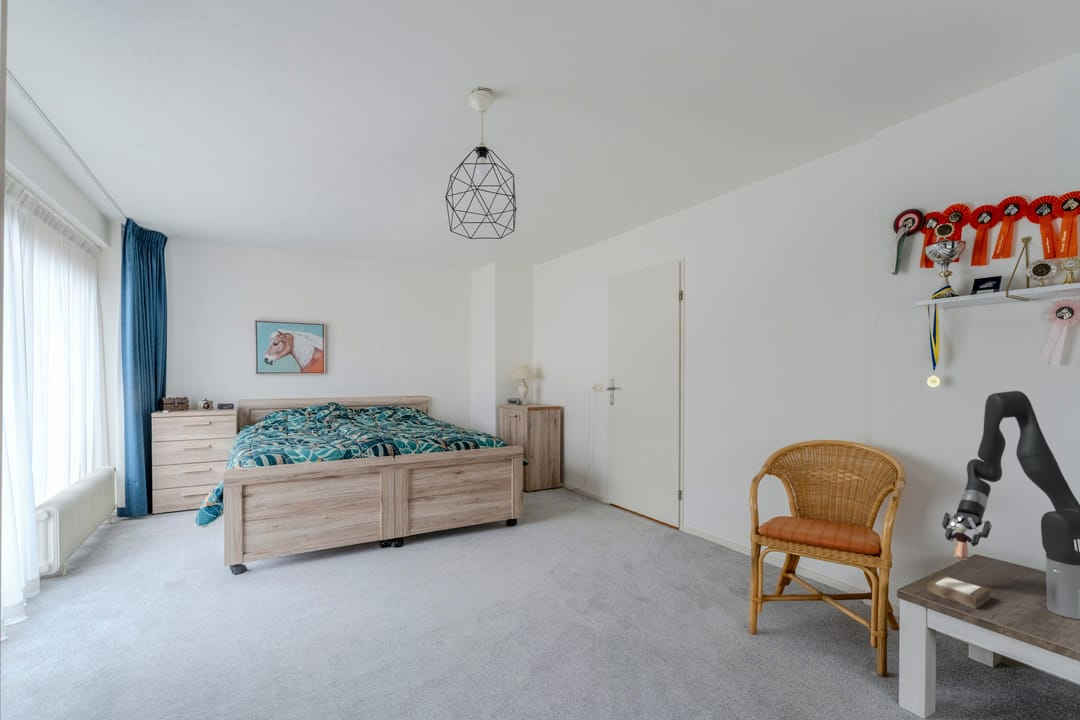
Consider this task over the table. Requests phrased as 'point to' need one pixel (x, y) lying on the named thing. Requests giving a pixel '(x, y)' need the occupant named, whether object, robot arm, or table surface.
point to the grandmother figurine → (961, 542)
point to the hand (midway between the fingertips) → (960, 541)
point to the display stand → (959, 591)
